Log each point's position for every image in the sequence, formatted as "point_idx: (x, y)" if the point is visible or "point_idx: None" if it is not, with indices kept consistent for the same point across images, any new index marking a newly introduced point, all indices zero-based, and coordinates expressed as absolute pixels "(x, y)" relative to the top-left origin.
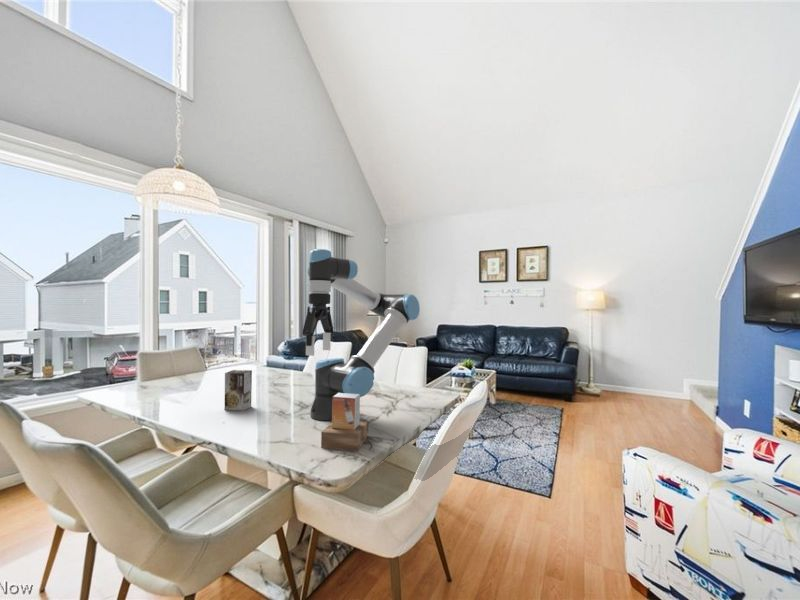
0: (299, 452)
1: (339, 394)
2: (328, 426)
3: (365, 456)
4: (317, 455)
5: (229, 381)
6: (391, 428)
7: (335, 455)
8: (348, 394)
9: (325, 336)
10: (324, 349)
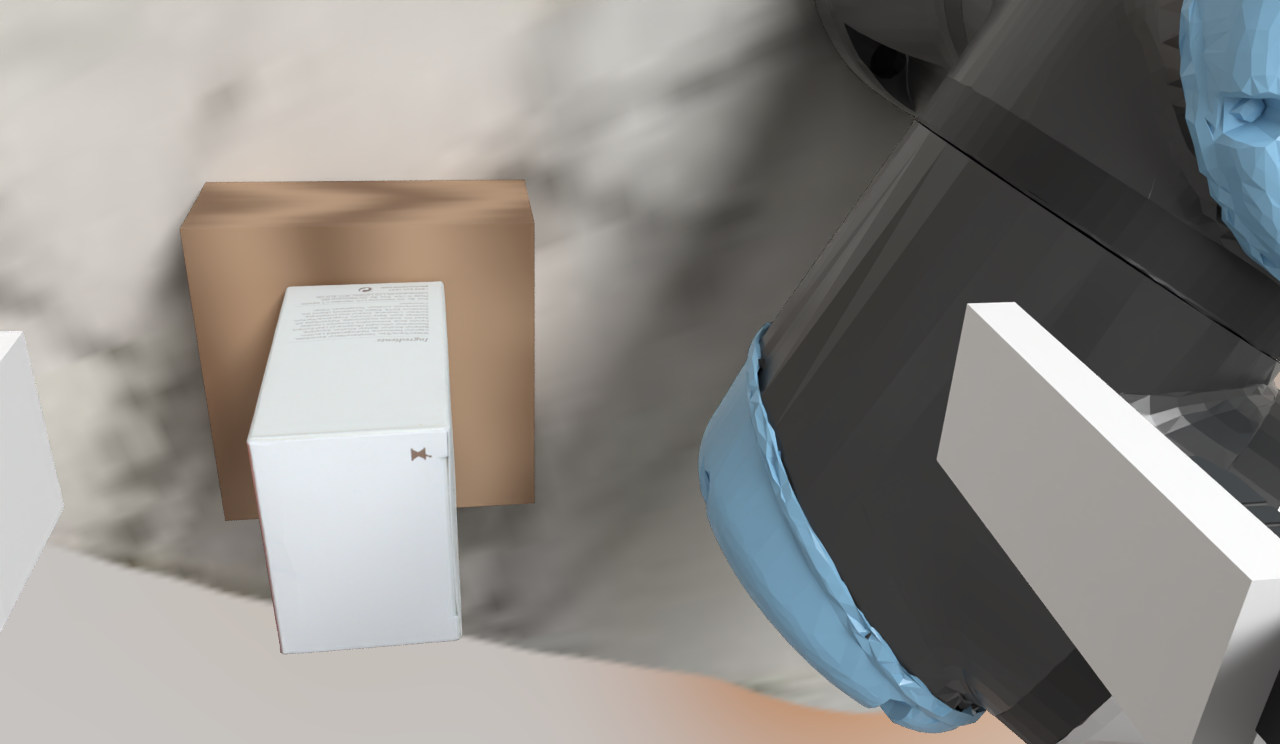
0: (50, 42)
1: (361, 472)
2: (327, 236)
3: (188, 525)
4: (64, 213)
5: None
6: (707, 547)
7: (121, 340)
8: (391, 557)
9: (1146, 576)
10: (968, 352)
